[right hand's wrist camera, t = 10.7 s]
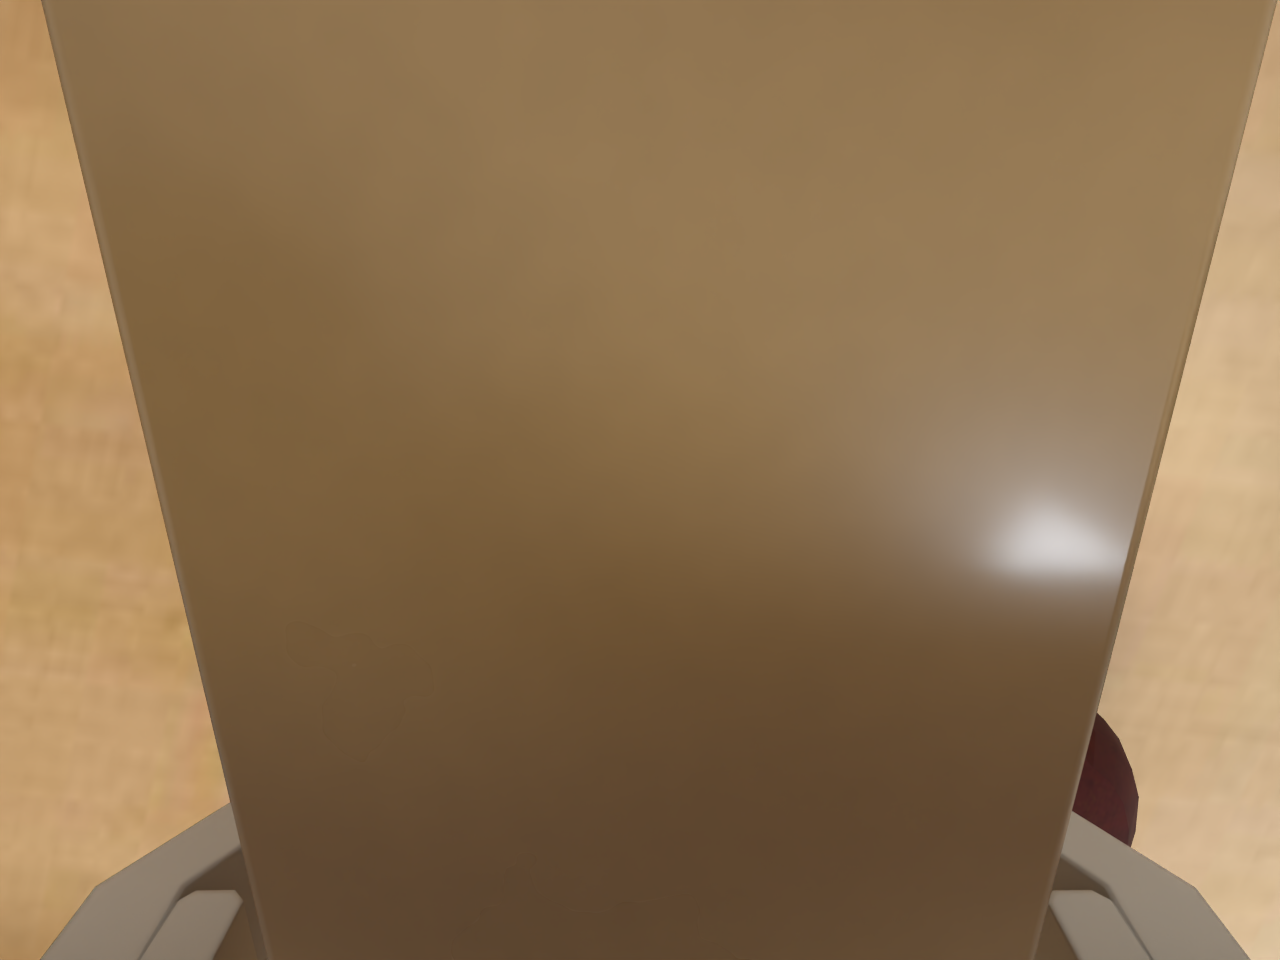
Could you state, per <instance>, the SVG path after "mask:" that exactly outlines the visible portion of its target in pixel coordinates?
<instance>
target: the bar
mask: <svg viewBox="0 0 1280 960" xmlns="http://www.w3.org/2000/svg"><path fill="white" fill-rule="evenodd" d="M41 1H42V5H43V10H44V14H45V18H46V22H47V27H48V31H49V35H50V39H51V43H52V48H53V52H54V56H55V60H56V65H57V69H58V73H59V77H60V82H61V86H62V90H63V94H64V99H65V103H66V107H67V111H68V116H69V120H70V124H71V128H72V133H73V137H74V141H75V145H76V149H77V154H78V158H79V162H80V166H81V171H82V175H83V179H84V183H85V188H86V192H87V196H88V200H89V205H90V209H91V213H92V217H93V222H94V226H95V230H96V234H97V238H98V243H99V247H100V251H101V255H102V260H103V264H104V268H105V272H106V277H107V281H108V285H109V289H110V294H111V298H112V302H113V306H114V311H115V315H116V319H117V323H118V327H119V332H120V336H121V340H122V344H123V349H124V353H125V357H126V361H127V366H128V370H129V374H130V378H131V383H132V387H133V391H134V395H135V400H136V404H137V408H138V412H139V416H140V421H141V425H142V429H143V433H144V438H145V442H146V446H147V450H148V455H149V459H150V463H151V467H152V472H153V476H154V480H155V484H156V489H157V493H158V497H159V501H160V505H161V510H162V514H163V518H164V522H165V527H166V531H167V535H168V539H169V544H170V548H171V552H172V556H173V561H174V565H175V569H176V573H177V578H178V582H179V586H180V590H181V594H182V599H183V603H184V607H185V611H186V616H187V620H188V624H189V628H190V633H191V637H192V641H193V645H194V650H195V654H196V658H197V662H198V667H199V671H200V675H201V679H202V684H203V688H204V692H205V696H206V700H207V705H208V709H209V713H210V717H211V722H212V726H213V730H214V734H215V739H216V743H217V747H218V751H219V756H220V760H221V764H222V768H223V773H224V777H225V781H226V785H227V789H228V794H229V798H230V802H231V806H232V811H233V815H234V819H235V823H236V828H237V832H238V836H239V840H240V845H241V849H242V853H243V857H244V862H245V866H246V870H247V874H248V878H249V883H250V887H251V891H252V895H253V900H254V904H255V908H256V912H257V917H258V921H259V925H260V929H261V934H262V938H263V942H264V946H265V951H266V955H267V959H268V960H1034V958H1035V954H1036V951H1037V947H1038V943H1039V939H1040V935H1041V931H1042V927H1043V923H1044V919H1045V915H1046V911H1047V907H1048V903H1049V899H1050V895H1051V891H1052V887H1053V883H1054V879H1055V876H1056V872H1057V868H1058V864H1059V860H1060V856H1061V852H1062V848H1063V844H1064V840H1065V836H1066V832H1067V828H1068V824H1069V820H1070V816H1071V812H1072V808H1073V804H1074V801H1075V797H1076V793H1077V789H1078V785H1079V781H1080V777H1081V773H1082V769H1083V765H1084V761H1085V757H1086V753H1087V749H1088V745H1089V741H1090V737H1091V733H1092V729H1093V726H1094V722H1095V718H1096V714H1097V710H1098V706H1099V702H1100V698H1101V694H1102V690H1103V686H1104V682H1105V678H1106V674H1107V670H1108V666H1109V662H1110V658H1111V654H1112V651H1113V647H1114V643H1115V639H1116V635H1117V631H1118V627H1119V623H1120V619H1121V615H1122V611H1123V607H1124V603H1125V599H1126V595H1127V591H1128V587H1129V583H1130V579H1131V576H1132V572H1133V568H1134V564H1135V560H1136V556H1137V552H1138V548H1139V544H1140V540H1141V536H1142V532H1143V528H1144V524H1145V520H1146V516H1147V512H1148V508H1149V504H1150V501H1151V497H1152V493H1153V489H1154V485H1155V481H1156V477H1157V473H1158V469H1159V465H1160V461H1161V457H1162V453H1163V449H1164V445H1165V441H1166V437H1167V433H1168V429H1169V426H1170V422H1171V418H1172V414H1173V410H1174V406H1175V402H1176V398H1177V394H1178V390H1179V386H1180V382H1181V378H1182V374H1183V370H1184V366H1185V362H1186V358H1187V354H1188V350H1189V347H1190V343H1191V339H1192V335H1193V331H1194V327H1195V323H1196V319H1197V315H1198V311H1199V307H1200V303H1201V299H1202V295H1203V291H1204V287H1205V283H1206V279H1207V275H1208V272H1209V268H1210V264H1211V260H1212V256H1213V252H1214V248H1215V244H1216V240H1217V236H1218V232H1219V228H1220V224H1221V220H1222V216H1223V212H1224V208H1225V204H1226V200H1227V197H1228V193H1229V189H1230V185H1231V181H1232V177H1233V173H1234V169H1235V165H1236V161H1237V157H1238V153H1239V149H1240V145H1241V141H1242V137H1243V133H1244V129H1245V125H1246V122H1247V118H1248V114H1249V110H1250V106H1251V102H1252V98H1253V94H1254V90H1255V86H1256V82H1257V78H1258V74H1259V70H1260V66H1261V62H1262V58H1263V54H1264V50H1265V47H1266V43H1267V39H1268V35H1269V31H1270V27H1271V23H1272V19H1273V15H1274V11H1275V7H1276V3H1277V0H41Z"/></svg>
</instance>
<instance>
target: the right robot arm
mask: <svg viewBox="0 0 1280 960" xmlns="http://www.w3.org/2000/svg"><path fill="white" fill-rule="evenodd" d="M40 960H268V959H267V955H266V951H265V946H264V942H263V938H262V934H261V929H260V925H259V921H258V917H257V912H256V908H255V904H254V900H253V895H252V891H251V887H250V883H249V878H248V874H247V870H246V866H245V862H244V857H243V853H242V849H241V845H240V840H239V836H238V832H237V828H236V823H235V819H234V815H233V811H232V806H231V802H230V803H228V804H227V805H225V806H223V807H222V808H220V809H219V810H217V811H215V812H214V813H212V814H211V815H209V816H207V817H206V818H204V819H203V820H201V821H199V822H198V823H196V824H195V825H193V826H191V827H190V828H188V829H187V830H185V831H183V832H182V833H180V834H179V835H177V836H176V837H174V838H172V839H171V840H169V841H168V842H166V843H164V844H163V845H161V846H160V847H158V848H156V849H155V850H153V851H152V852H150V853H148V854H147V855H145V856H144V857H142V858H140V859H139V860H137V861H136V862H134V863H132V864H131V865H129V866H128V867H126V868H124V869H123V870H121V871H120V872H118V873H116V874H115V875H113V876H112V877H110V878H108V879H107V880H105V881H104V882H102V883H100V884H99V885H97V886H96V887H95V888H94V889H93V890H92V892H91V893H90V894H89V896H88V897H87V898H86V900H85V901H84V902H83V904H82V905H81V906H80V908H79V909H78V910H77V912H76V913H75V914H74V916H73V917H72V918H71V920H70V921H69V922H68V924H67V925H66V926H65V927H64V929H63V930H62V931H61V933H60V934H59V935H58V937H57V938H56V939H55V941H54V942H53V943H52V945H51V946H50V947H49V949H48V950H47V951H46V953H45V954H44V955H43V957H42V958H41V959H40ZM1034 960H1250V958H1249V957H1248V956H1247V954H1246V953H1245V952H1244V951H1243V949H1242V948H1241V947H1240V945H1239V944H1238V943H1237V941H1236V940H1235V939H1234V937H1233V936H1232V935H1231V934H1230V932H1229V931H1228V930H1227V928H1226V927H1225V926H1224V924H1223V923H1222V922H1221V920H1220V919H1219V918H1218V916H1217V915H1216V914H1215V913H1214V911H1213V910H1212V909H1211V907H1210V906H1209V905H1208V903H1207V902H1206V901H1205V899H1204V898H1203V897H1202V896H1201V894H1200V893H1199V892H1198V890H1197V889H1196V888H1195V887H1193V886H1192V885H1190V884H1188V883H1187V882H1185V881H1184V880H1182V879H1180V878H1179V877H1177V876H1176V875H1174V874H1172V873H1171V872H1169V871H1168V870H1166V869H1164V868H1163V867H1161V866H1160V865H1158V864H1156V863H1155V862H1153V861H1152V860H1150V859H1148V858H1147V857H1145V856H1144V855H1142V854H1140V853H1139V852H1137V851H1135V850H1134V849H1132V848H1131V847H1129V846H1127V845H1126V844H1124V843H1123V842H1121V841H1119V840H1118V839H1116V838H1115V837H1113V836H1111V835H1110V834H1108V833H1107V832H1105V831H1103V830H1102V829H1100V828H1099V827H1097V826H1095V825H1094V824H1092V823H1090V822H1089V821H1087V820H1086V819H1084V818H1082V817H1081V816H1079V815H1078V814H1076V813H1074V812H1073V811H1072V812H1071V816H1070V820H1069V824H1068V828H1067V832H1066V836H1065V840H1064V844H1063V848H1062V852H1061V856H1060V860H1059V864H1058V868H1057V872H1056V876H1055V879H1054V883H1053V887H1052V891H1051V895H1050V899H1049V903H1048V907H1047V911H1046V915H1045V919H1044V923H1043V927H1042V931H1041V935H1040V939H1039V943H1038V947H1037V951H1036V954H1035V958H1034Z"/></svg>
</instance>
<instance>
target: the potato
mask: <svg viewBox="0 0 1280 960" xmlns="http://www.w3.org/2000/svg"><path fill="white" fill-rule="evenodd" d="M1138 799H1139V796H1138V792H1137V788H1136V784H1135V780H1134V776H1133V772H1132V769H1131V766H1130V764H1129V761H1128V759H1127V757H1126V754H1125V752H1124V750H1123V747H1122V745H1121V742H1120V740H1119V738H1118V737H1117V736H1116V734H1115V733H1114V732H1113V730H1112V729H1111V728H1110V727H1109V725H1108V724H1107V723H1106V721H1105V720H1104V719H1103V718H1102V717H1101V716H1100V715H1099V714H1098V713H1097V714H1096V718H1095V722H1094V726H1093V729H1092V733H1091V737H1090V741H1089V745H1088V749H1087V753H1086V757H1085V761H1084V765H1083V769H1082V773H1081V777H1080V781H1079V785H1078V789H1077V793H1076V797H1075V801H1074V804H1073V808H1072V811H1073V812H1074V813H1076V814H1078V815H1079V816H1081V817H1082V818H1084V819H1086V820H1087V821H1089V822H1090V823H1092V824H1094V825H1095V826H1097V827H1099V828H1100V829H1102V830H1103V831H1105V832H1107V833H1108V834H1110V835H1111V836H1113V837H1115V838H1116V839H1118V840H1119V841H1121V842H1123V843H1124V844H1126V845H1127V846H1129V847H1131V844H1132V841H1133V838H1134V834H1135V830H1136V820H1137V809H1138Z"/></svg>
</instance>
